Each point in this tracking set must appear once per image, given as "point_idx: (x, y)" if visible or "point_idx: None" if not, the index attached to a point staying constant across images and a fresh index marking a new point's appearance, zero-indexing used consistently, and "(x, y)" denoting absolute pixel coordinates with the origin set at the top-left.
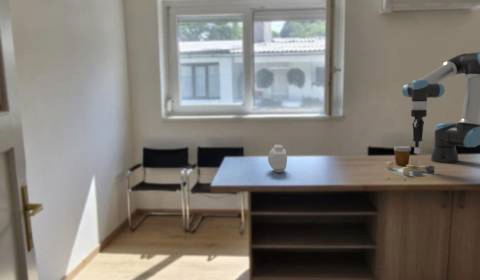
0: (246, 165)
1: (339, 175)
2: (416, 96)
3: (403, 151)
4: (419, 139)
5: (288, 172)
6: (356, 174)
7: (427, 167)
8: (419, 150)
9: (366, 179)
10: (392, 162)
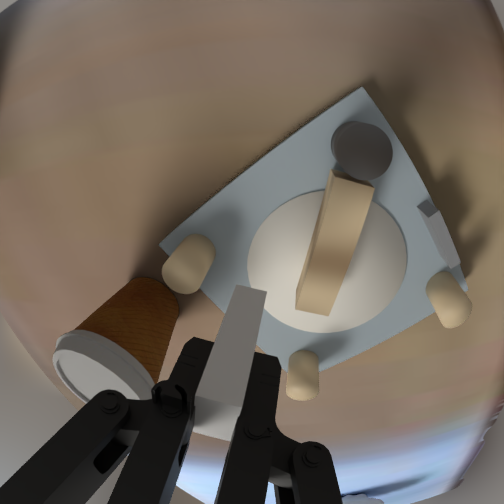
0: None
1: (386, 443)
2: None
3: (150, 374)
4: (250, 443)
5: (355, 490)
6: (369, 423)
7: (372, 176)
8: (261, 314)
9: (446, 390)
10: (304, 382)
